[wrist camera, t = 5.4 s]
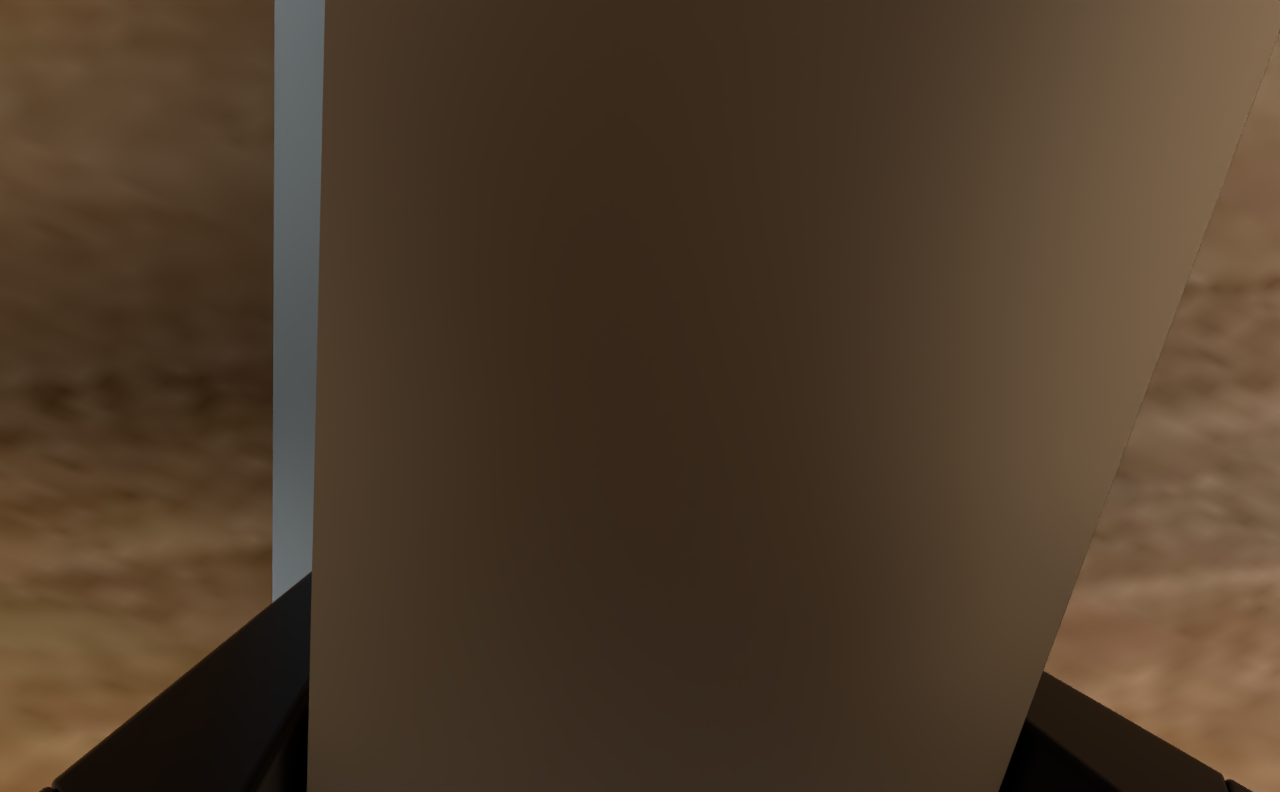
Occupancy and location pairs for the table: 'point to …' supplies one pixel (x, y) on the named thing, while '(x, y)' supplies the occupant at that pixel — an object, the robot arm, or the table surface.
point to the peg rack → (295, 281)
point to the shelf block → (734, 374)
